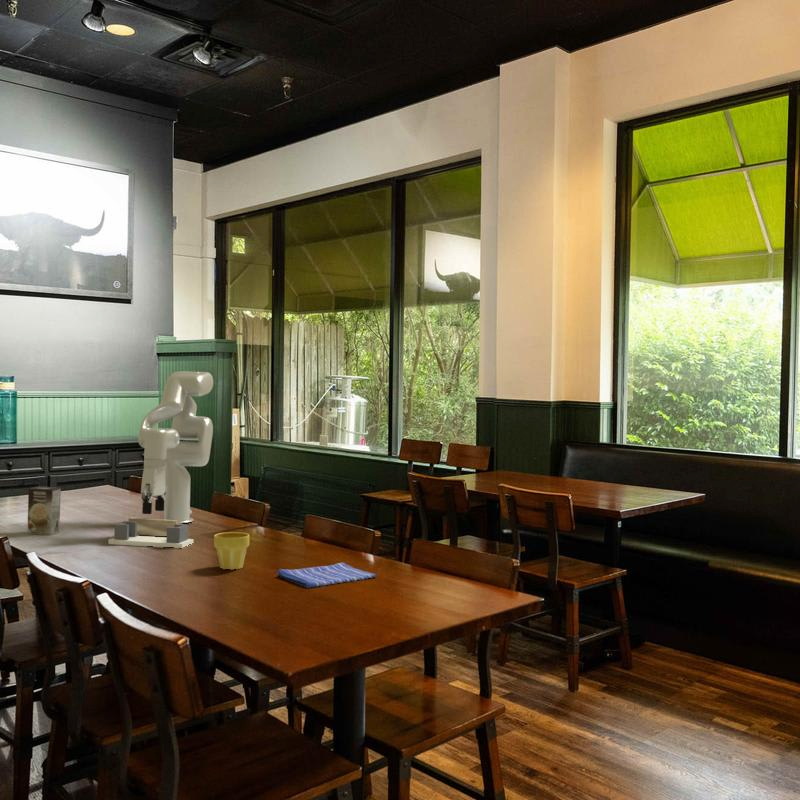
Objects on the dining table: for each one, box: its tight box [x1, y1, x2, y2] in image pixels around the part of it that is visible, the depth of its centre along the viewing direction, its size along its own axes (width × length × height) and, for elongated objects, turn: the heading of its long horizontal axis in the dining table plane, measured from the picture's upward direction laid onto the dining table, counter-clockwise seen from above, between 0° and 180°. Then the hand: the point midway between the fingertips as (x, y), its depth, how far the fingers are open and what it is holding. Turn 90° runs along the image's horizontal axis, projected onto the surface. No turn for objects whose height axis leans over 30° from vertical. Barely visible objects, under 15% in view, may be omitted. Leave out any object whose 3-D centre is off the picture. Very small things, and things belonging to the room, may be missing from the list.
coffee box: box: [26, 485, 62, 536], centre depth 284 cm, size 9×6×16 cm
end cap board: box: [108, 520, 194, 549], centre depth 271 cm, size 9×26×6 cm, turn 81°
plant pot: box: [213, 531, 250, 571], centre depth 239 cm, size 10×10×10 cm
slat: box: [128, 517, 179, 537], centre depth 286 cm, size 2×18×6 cm, turn 80°
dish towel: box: [276, 562, 377, 589], centre depth 231 cm, size 17×24×3 cm
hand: (153, 512), depth 285 cm, fingers open, 9 cm apart
